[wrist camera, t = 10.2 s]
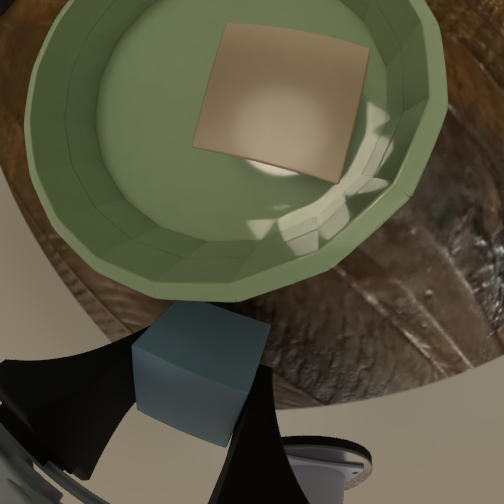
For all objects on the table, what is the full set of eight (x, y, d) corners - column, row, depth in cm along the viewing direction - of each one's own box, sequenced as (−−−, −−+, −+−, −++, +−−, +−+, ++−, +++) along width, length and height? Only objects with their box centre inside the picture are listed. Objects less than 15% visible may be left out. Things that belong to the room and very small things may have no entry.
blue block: (249, 385, 12) (225, 448, 9) (175, 357, 13) (136, 410, 9) (271, 324, 11) (248, 394, 7) (182, 293, 11) (130, 345, 8)
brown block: (329, 178, 10) (339, 185, 6) (233, 152, 10) (190, 147, 7) (353, 86, 9) (371, 47, 5) (256, 64, 9) (226, 21, 5)
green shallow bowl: (342, 292, 12) (353, 365, 7) (79, 207, 14) (14, 227, 9) (412, 3, 6) (443, -51, 2) (139, -18, 8) (90, -50, 4)
